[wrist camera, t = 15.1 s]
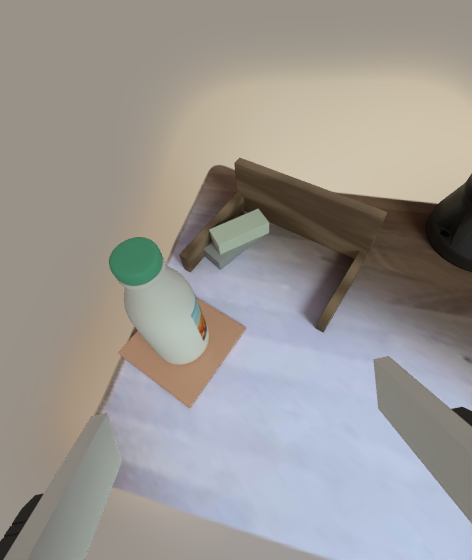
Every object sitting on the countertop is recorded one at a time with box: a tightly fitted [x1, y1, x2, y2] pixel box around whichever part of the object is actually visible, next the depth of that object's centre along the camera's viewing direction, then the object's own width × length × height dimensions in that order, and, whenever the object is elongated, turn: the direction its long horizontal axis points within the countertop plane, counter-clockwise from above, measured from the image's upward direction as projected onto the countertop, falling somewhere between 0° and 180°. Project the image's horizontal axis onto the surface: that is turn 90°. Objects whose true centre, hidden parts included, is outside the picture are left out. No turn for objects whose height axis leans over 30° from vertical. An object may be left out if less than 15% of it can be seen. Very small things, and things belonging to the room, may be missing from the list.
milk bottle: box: [109, 237, 209, 365], centre depth 36 cm, size 8×8×20 cm
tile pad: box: [119, 298, 246, 408], centre depth 45 cm, size 13×13×1 cm
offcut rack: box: [179, 158, 387, 332], centre depth 47 cm, size 18×24×10 cm
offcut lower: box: [203, 235, 264, 270], centre depth 54 cm, size 11×4×2 cm, turn 133°
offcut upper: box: [209, 209, 269, 255], centre depth 52 cm, size 9×4×2 cm, turn 117°
